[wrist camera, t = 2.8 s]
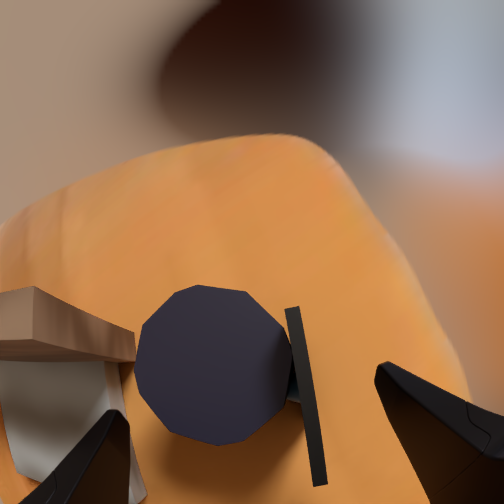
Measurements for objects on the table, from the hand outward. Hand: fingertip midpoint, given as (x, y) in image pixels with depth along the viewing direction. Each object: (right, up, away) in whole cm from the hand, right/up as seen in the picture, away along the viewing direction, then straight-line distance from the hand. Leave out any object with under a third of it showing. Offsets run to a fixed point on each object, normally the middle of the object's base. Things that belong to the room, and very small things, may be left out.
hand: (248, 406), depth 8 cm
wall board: (-14, -8, +6) cm, 17 cm away
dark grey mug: (0, -3, +8) cm, 9 cm away
